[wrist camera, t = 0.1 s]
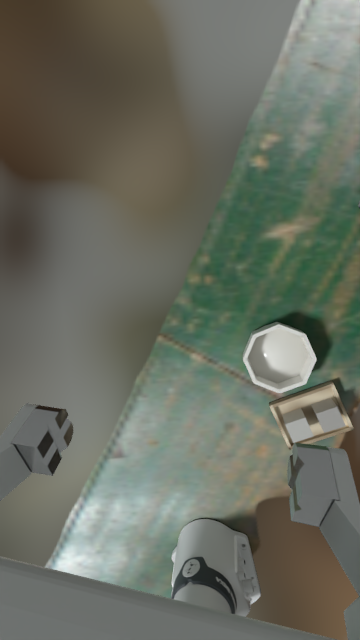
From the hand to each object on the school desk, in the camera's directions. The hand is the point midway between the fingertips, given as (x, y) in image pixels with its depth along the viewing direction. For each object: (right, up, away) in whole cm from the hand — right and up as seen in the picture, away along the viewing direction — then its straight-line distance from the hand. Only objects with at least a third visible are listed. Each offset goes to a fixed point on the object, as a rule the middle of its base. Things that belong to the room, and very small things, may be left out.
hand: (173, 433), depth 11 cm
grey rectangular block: (+29, -14, +51) cm, 61 cm away
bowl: (+20, -3, +52) cm, 56 cm away
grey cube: (+24, -16, +53) cm, 60 cm away
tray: (+27, -15, +53) cm, 61 cm away
